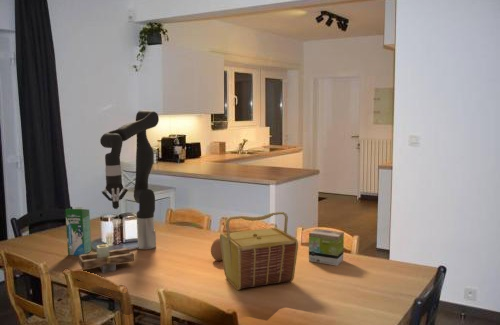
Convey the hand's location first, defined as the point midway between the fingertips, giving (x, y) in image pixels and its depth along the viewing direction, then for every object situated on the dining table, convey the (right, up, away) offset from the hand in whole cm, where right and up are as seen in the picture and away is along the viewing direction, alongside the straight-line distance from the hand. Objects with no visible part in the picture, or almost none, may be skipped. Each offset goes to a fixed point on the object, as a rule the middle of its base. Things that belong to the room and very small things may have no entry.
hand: (115, 208), depth 240 cm
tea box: (+104, -26, 0) cm, 108 cm away
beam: (-3, -28, -5) cm, 29 cm away
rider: (-4, -24, -7) cm, 25 cm away
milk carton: (-25, -26, +19) cm, 40 cm away
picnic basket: (+70, -30, -25) cm, 80 cm away
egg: (+51, -27, +3) cm, 58 cm away
